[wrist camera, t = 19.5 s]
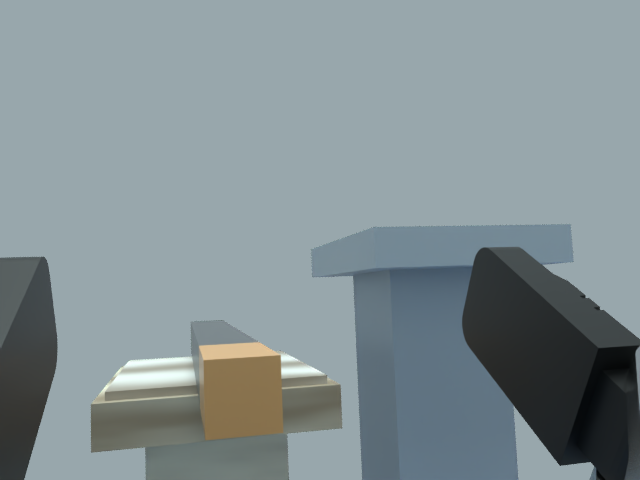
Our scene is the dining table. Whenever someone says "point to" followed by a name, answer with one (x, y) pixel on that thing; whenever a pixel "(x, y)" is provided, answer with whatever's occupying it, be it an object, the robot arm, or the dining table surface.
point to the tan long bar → (235, 382)
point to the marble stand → (187, 428)
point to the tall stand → (428, 348)
